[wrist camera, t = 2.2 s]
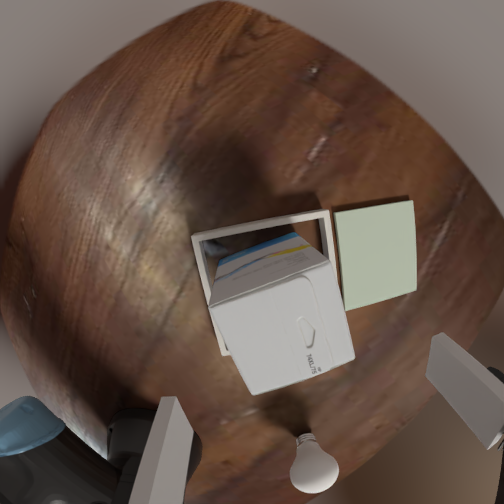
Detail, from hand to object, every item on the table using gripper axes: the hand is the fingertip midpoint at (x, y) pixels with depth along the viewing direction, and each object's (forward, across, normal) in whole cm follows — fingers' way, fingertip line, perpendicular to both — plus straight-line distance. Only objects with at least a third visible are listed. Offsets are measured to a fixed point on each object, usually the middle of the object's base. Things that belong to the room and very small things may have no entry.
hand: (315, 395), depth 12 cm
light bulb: (+18, +1, -26) cm, 32 cm away
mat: (+18, +12, 0) cm, 22 cm away
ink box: (+18, 0, 0) cm, 18 cm away
